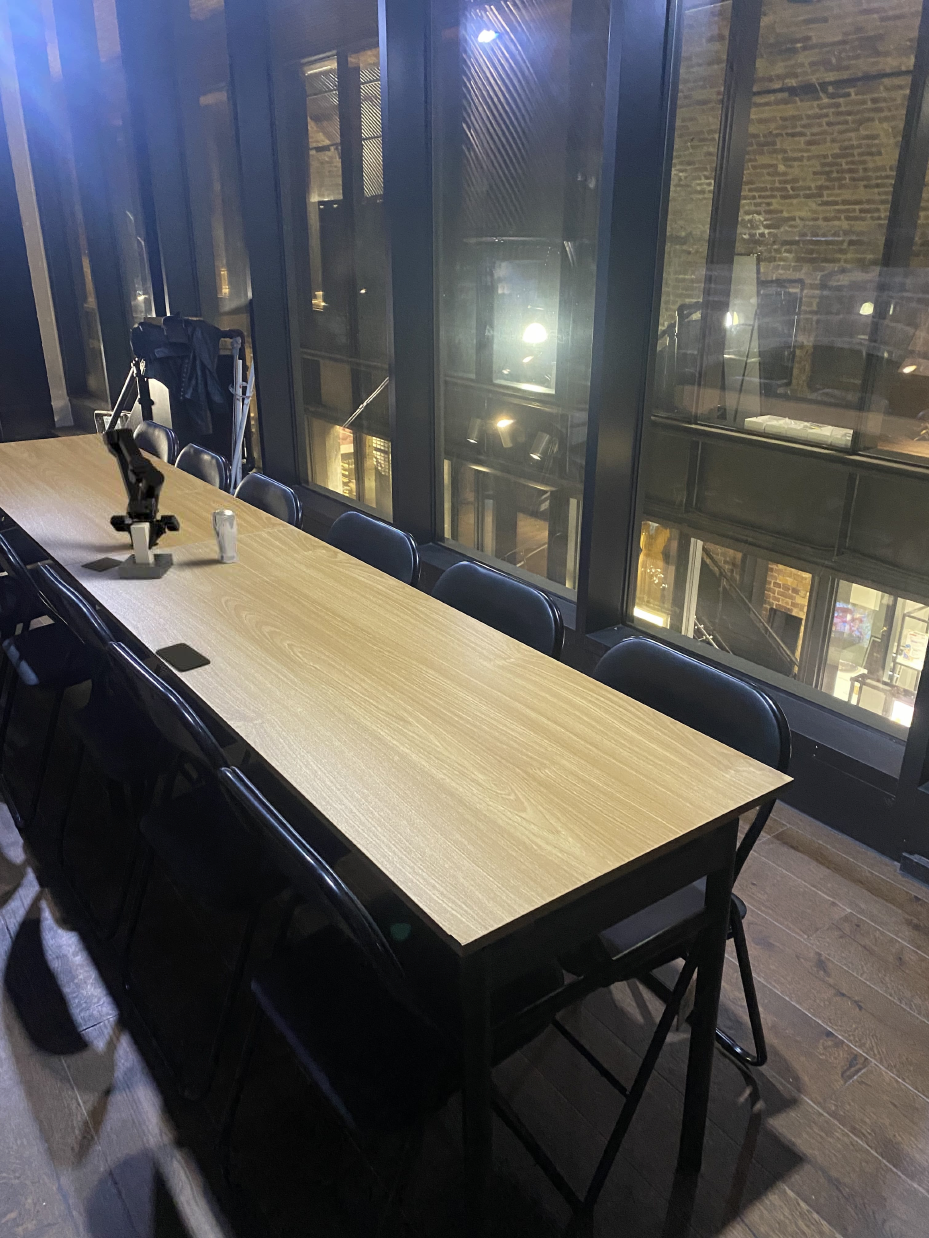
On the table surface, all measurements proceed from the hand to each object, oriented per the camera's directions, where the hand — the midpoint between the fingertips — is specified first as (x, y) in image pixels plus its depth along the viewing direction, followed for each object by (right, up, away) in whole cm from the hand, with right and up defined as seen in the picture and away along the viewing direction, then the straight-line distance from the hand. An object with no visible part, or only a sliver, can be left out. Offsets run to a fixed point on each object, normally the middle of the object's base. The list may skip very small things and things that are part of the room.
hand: (141, 549), depth 254 cm
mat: (-15, -4, +10) cm, 18 cm away
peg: (0, -6, +4) cm, 7 cm away
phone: (+28, -30, -51) cm, 65 cm away
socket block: (0, -6, +4) cm, 7 cm away
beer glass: (+22, -2, +13) cm, 26 cm away
